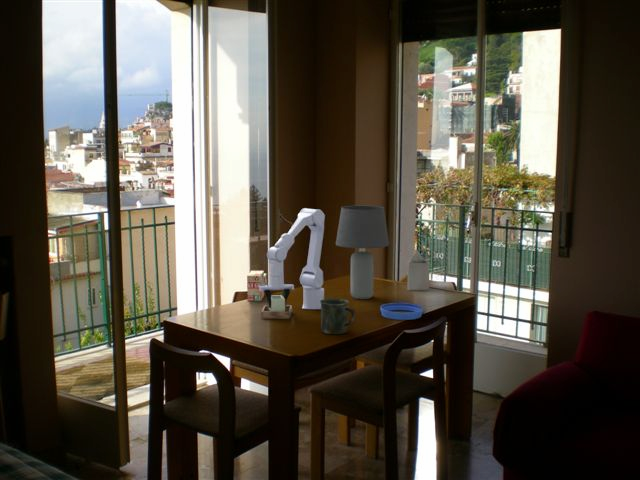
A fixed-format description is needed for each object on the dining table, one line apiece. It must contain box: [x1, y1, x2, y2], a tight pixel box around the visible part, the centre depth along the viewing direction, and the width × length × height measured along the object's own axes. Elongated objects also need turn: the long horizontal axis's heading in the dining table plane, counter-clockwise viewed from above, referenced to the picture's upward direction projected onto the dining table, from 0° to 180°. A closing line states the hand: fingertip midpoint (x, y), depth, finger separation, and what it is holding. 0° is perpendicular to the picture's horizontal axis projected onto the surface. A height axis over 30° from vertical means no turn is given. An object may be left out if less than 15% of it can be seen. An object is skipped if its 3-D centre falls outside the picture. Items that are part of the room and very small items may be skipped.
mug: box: [320, 297, 356, 335], centre depth 266 cm, size 11×15×12 cm
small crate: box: [269, 294, 285, 312], centre depth 292 cm, size 6×8×6 cm
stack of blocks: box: [246, 270, 268, 302], centre depth 329 cm, size 21×6×12 cm, turn 176°
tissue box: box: [407, 249, 431, 291], centre depth 346 cm, size 16×8×19 cm, turn 143°
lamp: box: [335, 205, 390, 300], centre depth 324 cm, size 25×25×43 cm
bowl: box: [380, 302, 424, 321], centre depth 293 cm, size 18×18×4 cm
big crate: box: [260, 304, 293, 320], centre depth 292 cm, size 12×12×3 cm
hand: (276, 306), depth 291 cm, fingers closed on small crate, 5 cm apart
